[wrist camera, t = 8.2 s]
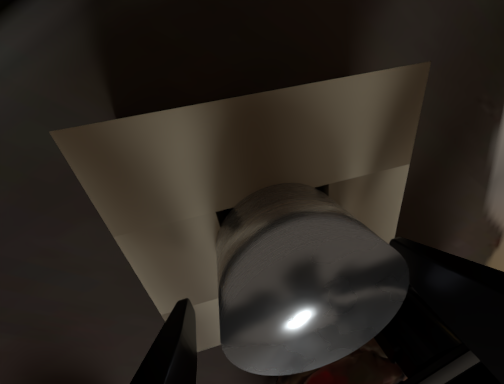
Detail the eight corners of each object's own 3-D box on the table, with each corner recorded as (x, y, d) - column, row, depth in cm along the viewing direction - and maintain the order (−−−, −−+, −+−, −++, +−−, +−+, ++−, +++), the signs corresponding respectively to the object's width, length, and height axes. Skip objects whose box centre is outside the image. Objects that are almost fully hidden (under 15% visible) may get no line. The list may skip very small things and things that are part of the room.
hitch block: (349, 76, 12) (431, 61, 8) (340, 246, 18) (383, 292, 14) (115, 119, 11) (49, 131, 6) (192, 288, 17) (186, 355, 12)
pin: (298, 146, 13) (430, 212, 5) (302, 224, 16) (392, 341, 8) (202, 167, 13) (191, 279, 5) (225, 244, 16) (242, 394, 8)
